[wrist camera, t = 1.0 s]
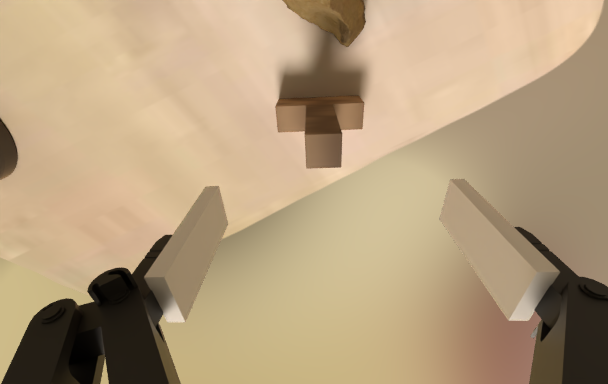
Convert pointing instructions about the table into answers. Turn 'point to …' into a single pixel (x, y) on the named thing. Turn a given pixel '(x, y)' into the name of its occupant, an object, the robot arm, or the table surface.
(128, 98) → the table surface
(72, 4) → the table surface
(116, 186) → the table surface
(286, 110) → the brown t-shaped block
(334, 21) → the rock
